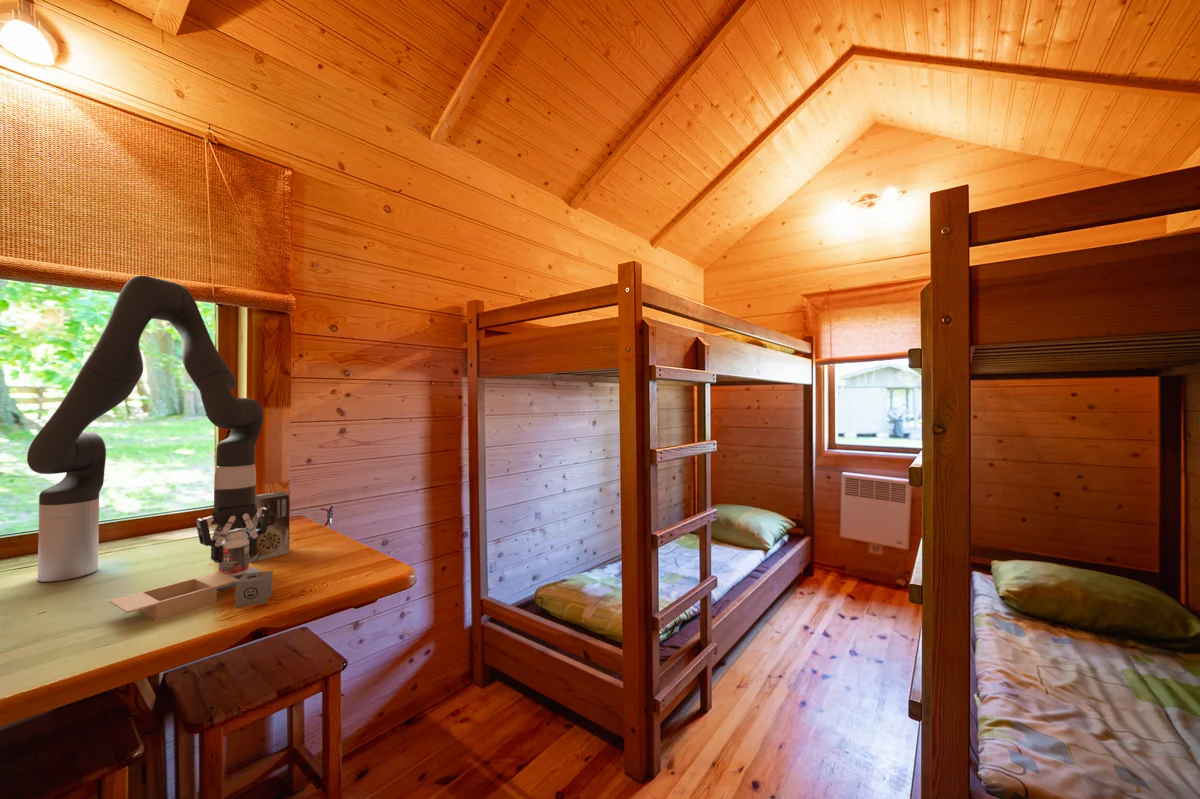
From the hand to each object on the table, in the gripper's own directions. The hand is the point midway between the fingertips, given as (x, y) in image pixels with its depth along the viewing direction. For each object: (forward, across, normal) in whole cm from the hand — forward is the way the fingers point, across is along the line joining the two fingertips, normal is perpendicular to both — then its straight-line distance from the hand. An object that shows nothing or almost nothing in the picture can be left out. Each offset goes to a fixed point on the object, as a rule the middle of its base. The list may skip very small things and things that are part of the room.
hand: (234, 557), depth 105 cm
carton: (+5, +12, +6) cm, 14 cm away
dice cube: (+5, +3, +16) cm, 17 cm away
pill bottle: (+4, 0, 0) cm, 4 cm away
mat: (+5, 0, 0) cm, 5 cm away
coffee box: (+5, -12, -12) cm, 18 cm away
